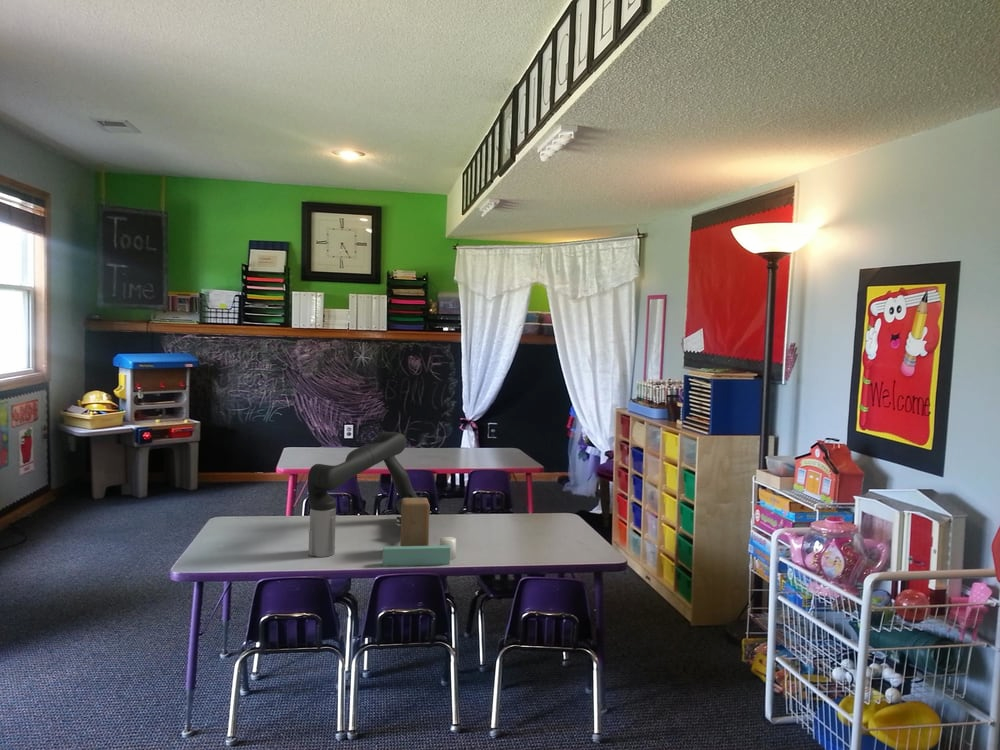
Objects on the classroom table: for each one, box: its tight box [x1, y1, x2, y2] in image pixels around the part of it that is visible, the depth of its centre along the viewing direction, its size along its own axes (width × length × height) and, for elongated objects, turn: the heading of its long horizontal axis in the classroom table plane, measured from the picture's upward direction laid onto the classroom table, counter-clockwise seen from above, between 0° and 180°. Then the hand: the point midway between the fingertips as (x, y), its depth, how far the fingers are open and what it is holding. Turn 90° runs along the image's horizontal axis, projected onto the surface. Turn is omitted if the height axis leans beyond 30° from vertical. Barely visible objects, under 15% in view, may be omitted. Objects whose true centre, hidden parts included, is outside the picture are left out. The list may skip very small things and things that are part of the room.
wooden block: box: [399, 497, 431, 546], centre depth 263 cm, size 10×10×20 cm
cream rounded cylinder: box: [439, 536, 457, 561], centre depth 259 cm, size 6×6×7 cm
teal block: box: [381, 545, 451, 567], centre depth 251 cm, size 24×3×6 cm, turn 100°
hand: (413, 525), depth 273 cm, fingers closed
